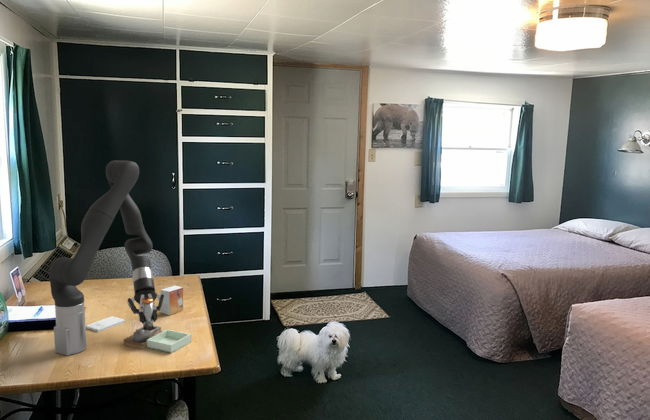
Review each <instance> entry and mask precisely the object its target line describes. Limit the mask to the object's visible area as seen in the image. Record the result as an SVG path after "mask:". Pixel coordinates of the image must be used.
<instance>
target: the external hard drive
mask: <svg viewBox="0 0 650 420" xmlns="http://www.w3.org/2000/svg"><path fill="white" fill-rule="evenodd" d="M124 323H126V321H125V319H123V318H119V317H116V316H113V315H111V316H109V317H108V316H107V317H106V318H103V319H100V320H97V321H95V322H92V323H89V324H87V325H86V330H90V331H93V332H96V333H100V332H103V331H105V330H107V329H111V328H113V327H116V326H119V325H121V324H124Z"/></svg>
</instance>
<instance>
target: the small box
mask: <svg viewBox="0 0 650 420" xmlns="http://www.w3.org/2000/svg"><path fill="white" fill-rule="evenodd" d="M159 293H160V294H159V295H162V294H163V295H164V299H163V302H162V306H161V310H160V313H161V314H164V315H168V316H171V315H174V314H177V313H180V312H183V311H184V288H183V287H182V286H178V285H172V286H169V287H165V288H162V289H160V291H159Z"/></svg>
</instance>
